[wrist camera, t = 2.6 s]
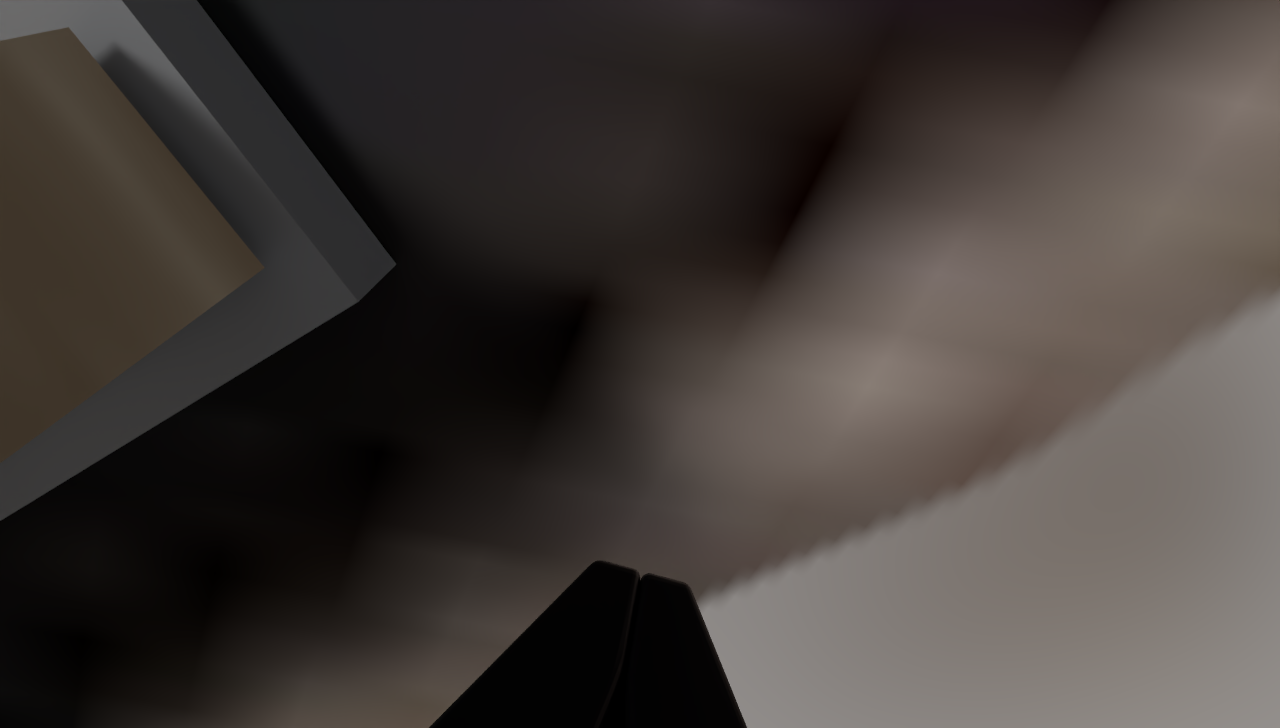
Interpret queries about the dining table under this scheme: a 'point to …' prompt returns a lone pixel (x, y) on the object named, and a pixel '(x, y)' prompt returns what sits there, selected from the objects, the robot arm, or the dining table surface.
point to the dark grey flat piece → (239, 189)
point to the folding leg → (91, 236)
